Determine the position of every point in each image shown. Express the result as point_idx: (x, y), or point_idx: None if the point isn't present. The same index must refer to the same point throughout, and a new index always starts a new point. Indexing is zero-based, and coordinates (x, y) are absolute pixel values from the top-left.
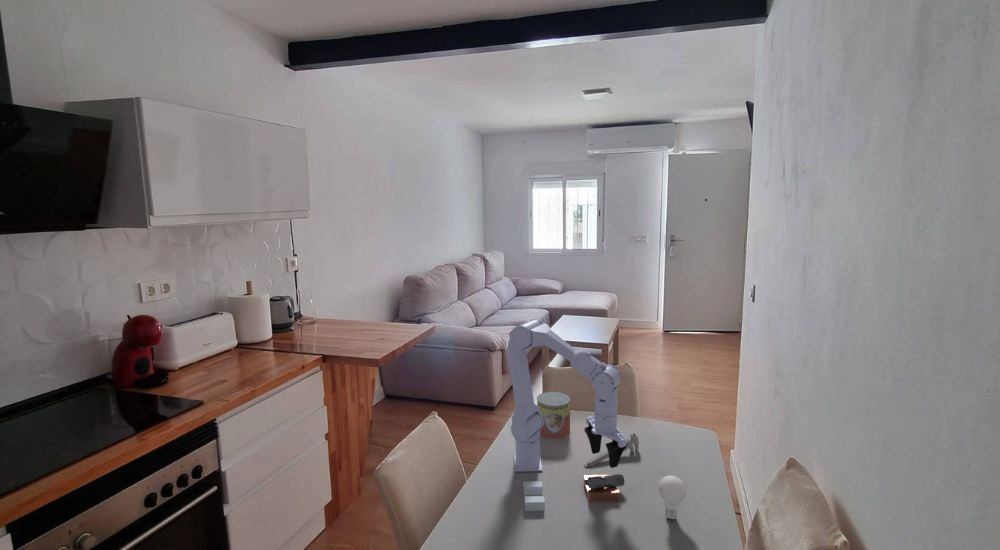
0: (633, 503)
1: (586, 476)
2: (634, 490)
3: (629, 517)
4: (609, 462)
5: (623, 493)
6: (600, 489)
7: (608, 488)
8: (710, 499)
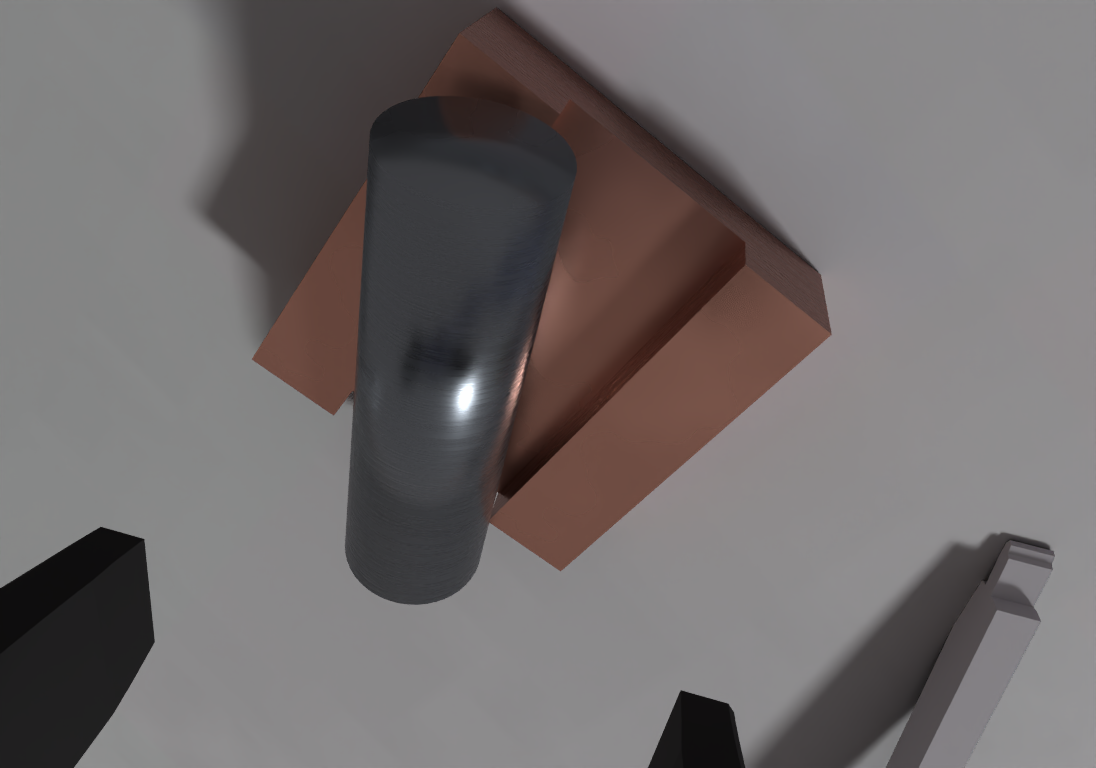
0: (208, 371)
1: (779, 337)
2: None
3: (38, 155)
4: (59, 599)
5: None
6: None
7: None
8: None
